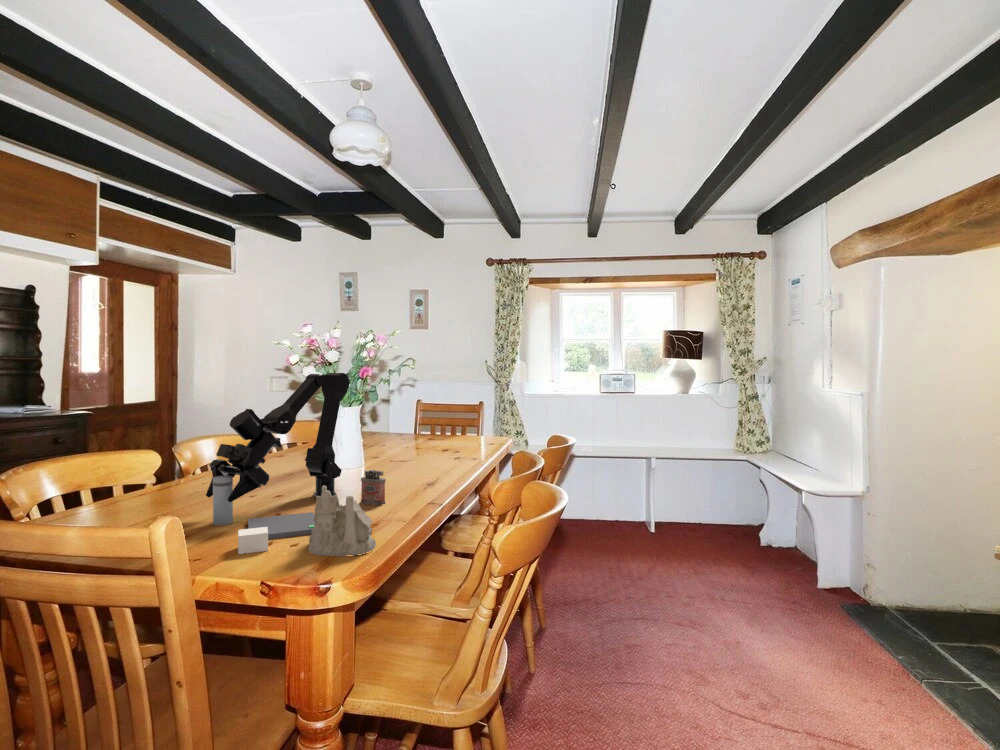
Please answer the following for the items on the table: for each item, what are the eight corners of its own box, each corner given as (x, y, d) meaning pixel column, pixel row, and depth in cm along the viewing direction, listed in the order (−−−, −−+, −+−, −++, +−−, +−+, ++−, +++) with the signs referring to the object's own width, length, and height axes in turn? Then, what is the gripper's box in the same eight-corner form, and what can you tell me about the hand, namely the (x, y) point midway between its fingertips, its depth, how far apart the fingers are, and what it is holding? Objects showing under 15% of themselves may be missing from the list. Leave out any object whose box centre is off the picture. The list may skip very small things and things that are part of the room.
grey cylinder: (213, 521, 141) (213, 476, 141) (233, 519, 143) (233, 474, 143) (212, 526, 137) (212, 479, 137) (232, 524, 139) (232, 478, 139)
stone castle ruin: (364, 558, 115) (364, 487, 116) (293, 556, 117) (293, 487, 118) (390, 539, 130) (390, 477, 131) (327, 538, 133) (327, 477, 134)
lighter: (358, 503, 161) (358, 470, 161) (364, 500, 164) (365, 468, 164) (381, 505, 158) (381, 472, 158) (387, 503, 162) (387, 470, 161)
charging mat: (239, 524, 139) (239, 508, 139) (313, 516, 147) (313, 501, 146) (238, 554, 117) (238, 536, 117) (324, 543, 124) (324, 526, 124)
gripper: (215, 429, 148) (174, 476, 138) (259, 434, 138) (218, 485, 129) (242, 454, 155) (204, 500, 145) (285, 460, 145) (248, 510, 136)
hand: (217, 498), depth 139 cm, fingers open, 9 cm apart
